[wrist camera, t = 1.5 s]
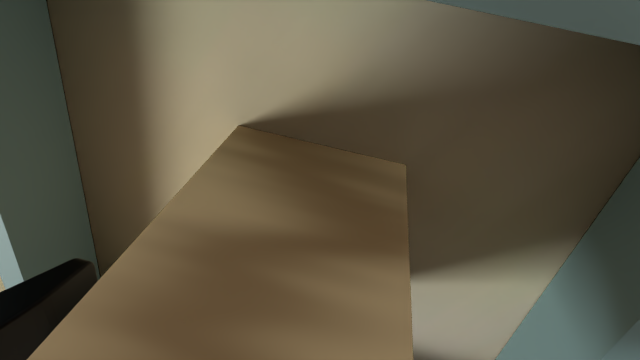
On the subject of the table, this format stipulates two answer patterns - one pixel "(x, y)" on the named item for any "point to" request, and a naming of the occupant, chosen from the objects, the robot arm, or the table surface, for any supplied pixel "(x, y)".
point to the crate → (518, 3)
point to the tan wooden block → (259, 264)
